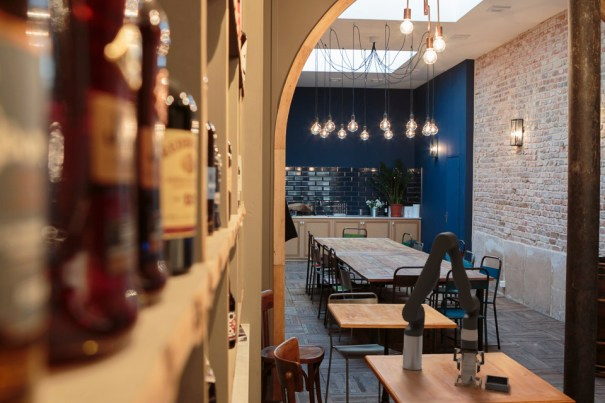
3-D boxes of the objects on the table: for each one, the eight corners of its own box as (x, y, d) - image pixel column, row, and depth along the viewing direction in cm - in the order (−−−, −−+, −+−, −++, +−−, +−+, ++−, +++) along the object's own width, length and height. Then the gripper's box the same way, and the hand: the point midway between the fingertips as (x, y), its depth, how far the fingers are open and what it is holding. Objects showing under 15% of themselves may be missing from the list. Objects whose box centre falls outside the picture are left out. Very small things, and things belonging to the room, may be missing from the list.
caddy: (484, 389, 257) (485, 383, 257) (486, 380, 270) (486, 374, 270) (508, 393, 254) (508, 386, 254) (508, 383, 266) (508, 377, 266)
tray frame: (454, 385, 262) (454, 382, 262) (457, 376, 275) (457, 374, 275) (480, 388, 258) (480, 386, 258) (481, 379, 271) (481, 377, 271)
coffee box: (460, 378, 272) (461, 346, 272) (474, 380, 271) (475, 347, 270) (462, 385, 263) (462, 351, 263) (476, 386, 262) (477, 352, 261)
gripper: (453, 338, 265) (452, 371, 266) (484, 341, 260) (483, 375, 261) (454, 334, 272) (453, 367, 273) (485, 337, 267) (484, 371, 268)
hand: (468, 371), depth 267 cm, fingers open, 8 cm apart
